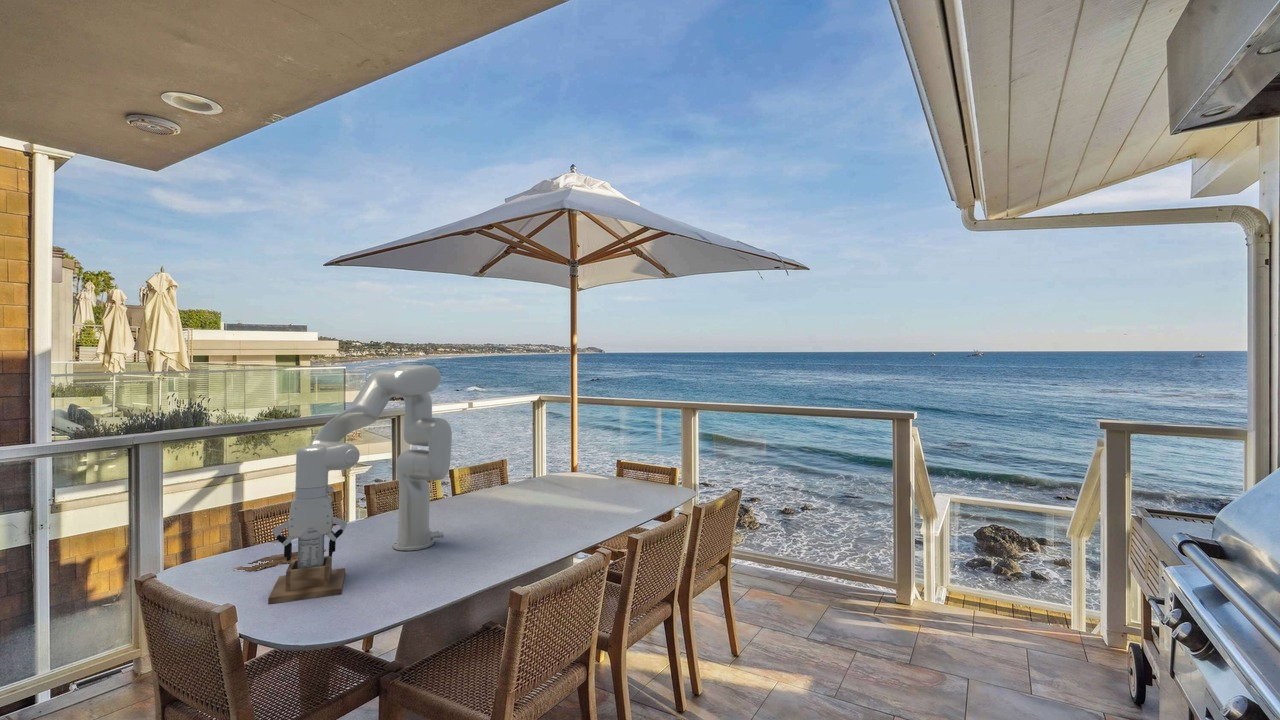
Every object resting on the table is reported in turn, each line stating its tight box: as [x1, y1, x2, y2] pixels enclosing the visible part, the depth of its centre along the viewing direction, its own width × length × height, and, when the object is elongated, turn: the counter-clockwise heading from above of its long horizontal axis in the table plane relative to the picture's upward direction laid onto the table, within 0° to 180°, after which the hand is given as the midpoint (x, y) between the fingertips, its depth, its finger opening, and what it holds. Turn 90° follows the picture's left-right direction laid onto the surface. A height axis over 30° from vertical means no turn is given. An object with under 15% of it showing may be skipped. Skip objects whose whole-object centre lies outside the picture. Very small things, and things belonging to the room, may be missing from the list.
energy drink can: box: [297, 527, 325, 569], centre depth 149 cm, size 6×6×15 cm
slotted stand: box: [267, 555, 346, 605], centre depth 149 cm, size 16×16×6 cm
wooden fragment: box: [233, 548, 327, 572], centre depth 170 cm, size 26×11×1 cm, turn 138°
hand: (310, 557), depth 149 cm, fingers open, 9 cm apart
